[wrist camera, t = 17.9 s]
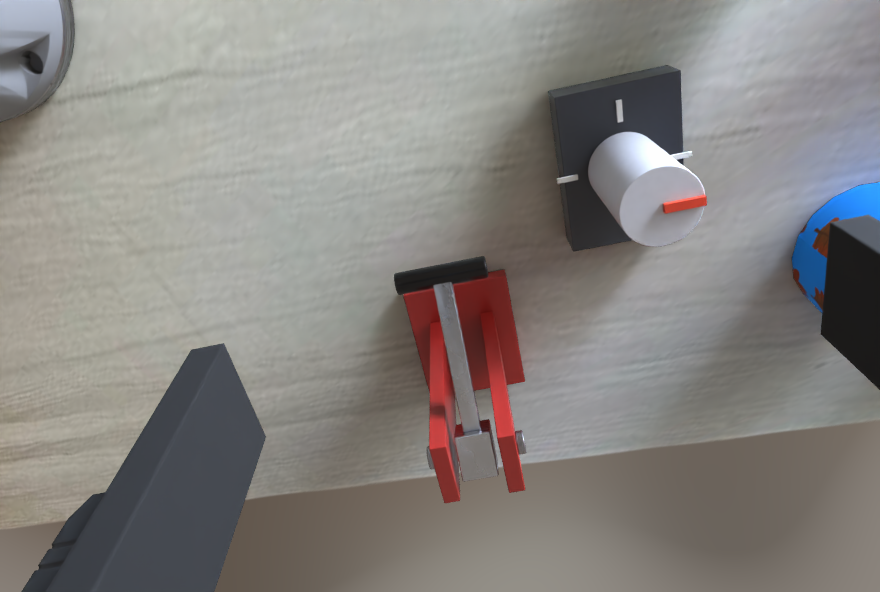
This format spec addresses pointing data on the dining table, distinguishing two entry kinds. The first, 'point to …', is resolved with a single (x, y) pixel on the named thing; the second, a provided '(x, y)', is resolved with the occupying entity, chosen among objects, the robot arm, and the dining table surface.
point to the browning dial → (646, 189)
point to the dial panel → (599, 117)
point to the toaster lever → (458, 360)
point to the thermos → (815, 237)
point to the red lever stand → (489, 365)
